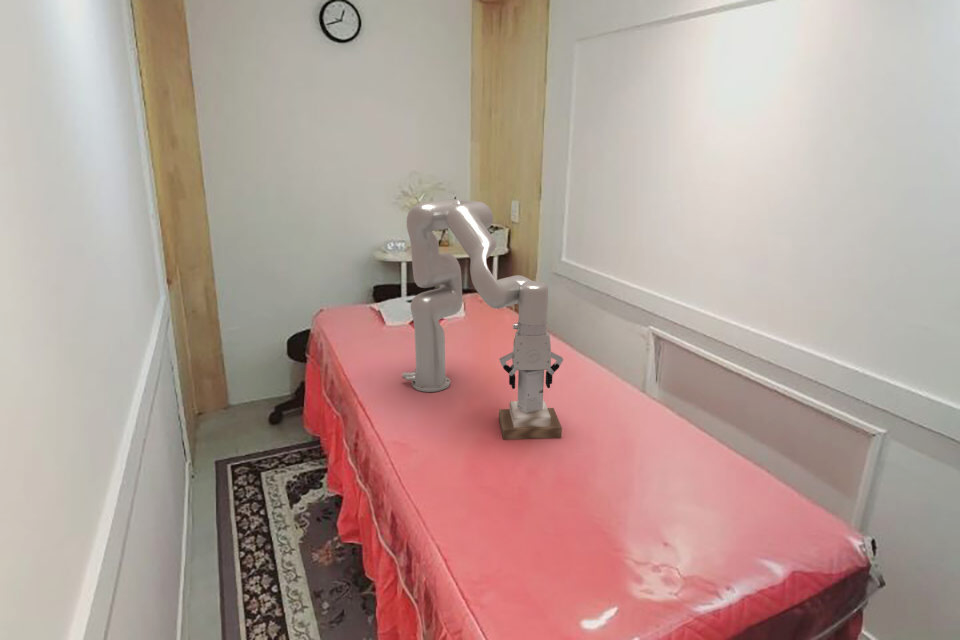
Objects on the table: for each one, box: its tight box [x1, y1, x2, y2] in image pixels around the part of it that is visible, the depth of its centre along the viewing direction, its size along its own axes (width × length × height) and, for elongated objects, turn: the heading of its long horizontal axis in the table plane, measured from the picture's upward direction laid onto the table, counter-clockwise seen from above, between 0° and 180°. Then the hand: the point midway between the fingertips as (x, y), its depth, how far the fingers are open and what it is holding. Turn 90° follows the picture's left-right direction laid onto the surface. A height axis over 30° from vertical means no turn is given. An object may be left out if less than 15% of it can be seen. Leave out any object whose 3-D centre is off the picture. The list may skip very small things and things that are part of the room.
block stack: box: [498, 399, 563, 440], centre depth 164 cm, size 16×12×6 cm
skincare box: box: [517, 370, 545, 413], centre depth 161 cm, size 6×4×12 cm
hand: (530, 386), depth 161 cm, fingers open, 9 cm apart
